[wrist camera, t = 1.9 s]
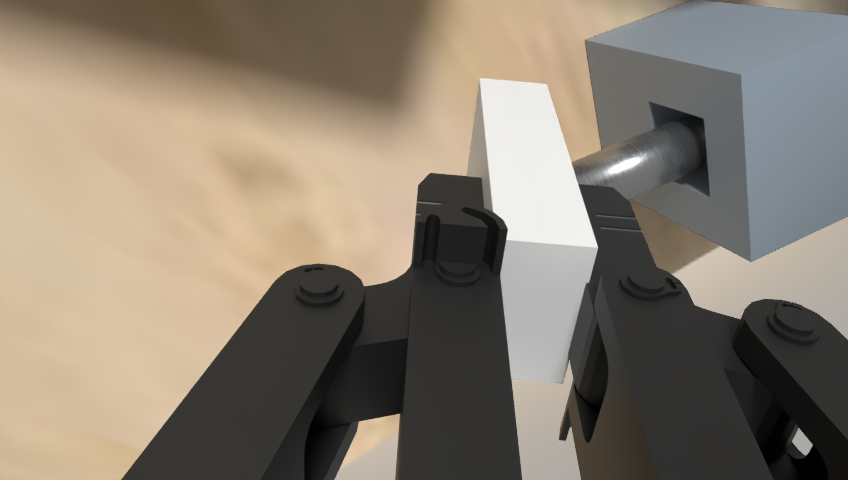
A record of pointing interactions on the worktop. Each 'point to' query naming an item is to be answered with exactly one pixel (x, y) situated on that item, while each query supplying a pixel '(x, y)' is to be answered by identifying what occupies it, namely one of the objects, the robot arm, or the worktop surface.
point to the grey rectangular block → (736, 115)
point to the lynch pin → (647, 158)
